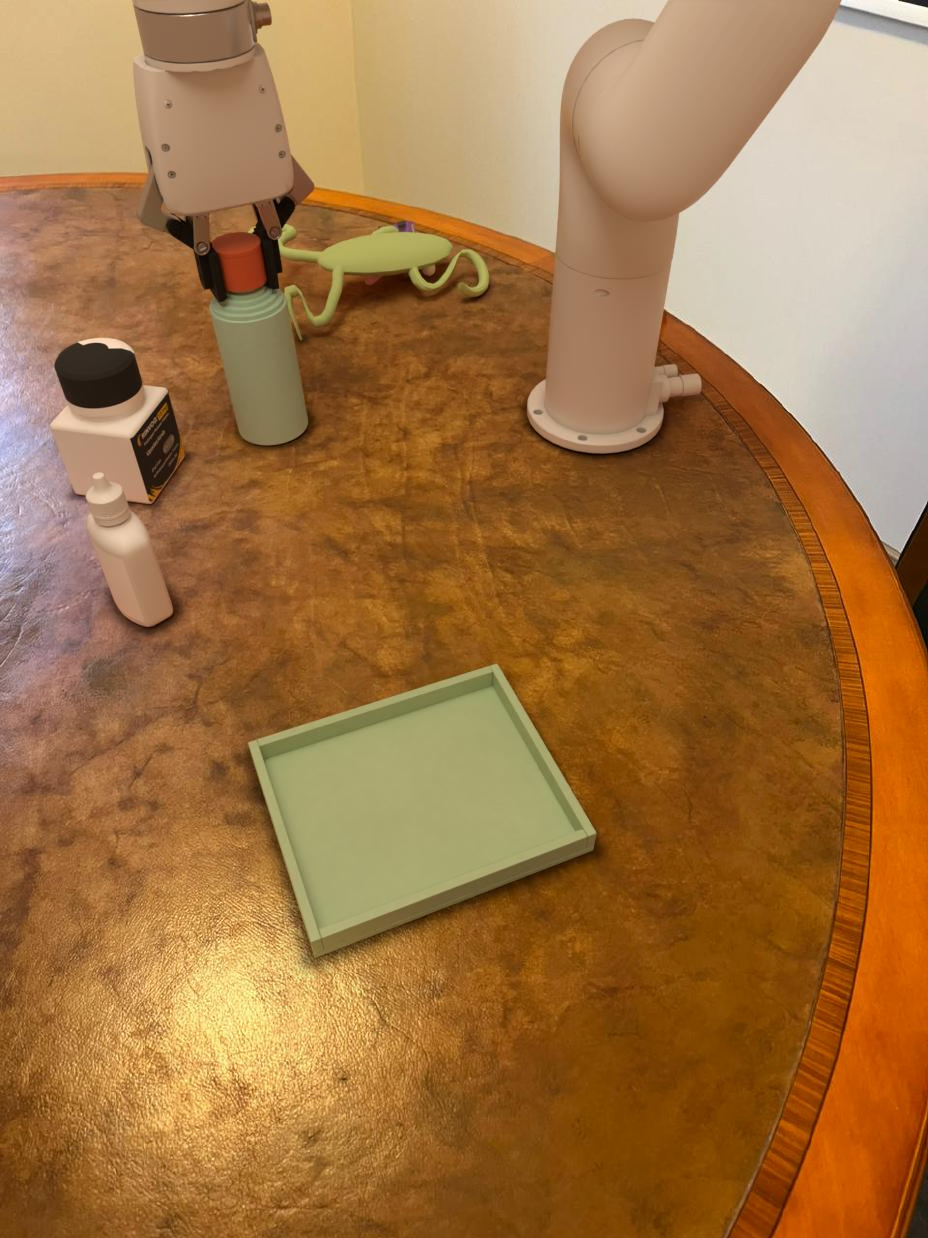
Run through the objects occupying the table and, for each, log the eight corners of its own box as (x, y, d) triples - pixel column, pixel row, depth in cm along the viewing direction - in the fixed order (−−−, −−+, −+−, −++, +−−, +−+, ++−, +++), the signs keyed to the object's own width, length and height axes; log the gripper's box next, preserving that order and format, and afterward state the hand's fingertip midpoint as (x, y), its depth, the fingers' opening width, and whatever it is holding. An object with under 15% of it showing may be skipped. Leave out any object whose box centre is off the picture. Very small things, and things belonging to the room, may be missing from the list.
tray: (496, 681, 64) (497, 662, 63) (593, 850, 55) (597, 833, 54) (252, 760, 60) (247, 742, 58) (314, 958, 51) (310, 942, 49)
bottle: (304, 401, 88) (274, 228, 76) (311, 439, 84) (280, 262, 72) (236, 411, 87) (195, 238, 76) (240, 450, 83) (197, 272, 71)
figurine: (223, 274, 107) (214, 225, 103) (435, 231, 115) (434, 184, 111) (271, 349, 95) (262, 298, 91) (503, 295, 103) (505, 246, 99)
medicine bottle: (152, 506, 78) (113, 380, 69) (74, 495, 79) (25, 369, 70) (187, 456, 82) (154, 332, 74) (112, 446, 83) (71, 323, 75)
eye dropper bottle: (113, 636, 67) (61, 507, 59) (113, 584, 71) (65, 455, 62) (175, 625, 68) (132, 496, 59) (172, 574, 72) (132, 446, 63)
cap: (212, 276, 76) (203, 238, 74) (258, 265, 77) (251, 227, 75) (226, 296, 74) (218, 257, 72) (274, 284, 75) (267, 246, 73)
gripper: (293, 3, 68) (322, 249, 81) (60, 34, 63) (131, 291, 76) (332, 29, 63) (355, 285, 76) (83, 64, 58) (154, 333, 71)
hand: (243, 286), depth 76 cm, fingers closed on cap, 3 cm apart
